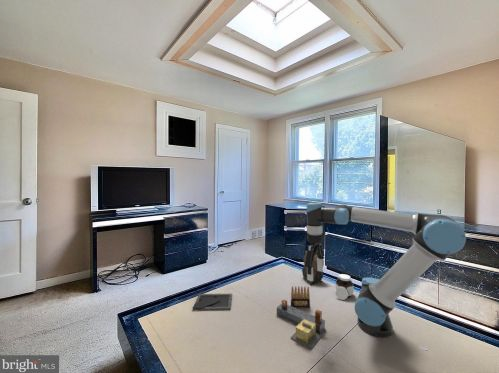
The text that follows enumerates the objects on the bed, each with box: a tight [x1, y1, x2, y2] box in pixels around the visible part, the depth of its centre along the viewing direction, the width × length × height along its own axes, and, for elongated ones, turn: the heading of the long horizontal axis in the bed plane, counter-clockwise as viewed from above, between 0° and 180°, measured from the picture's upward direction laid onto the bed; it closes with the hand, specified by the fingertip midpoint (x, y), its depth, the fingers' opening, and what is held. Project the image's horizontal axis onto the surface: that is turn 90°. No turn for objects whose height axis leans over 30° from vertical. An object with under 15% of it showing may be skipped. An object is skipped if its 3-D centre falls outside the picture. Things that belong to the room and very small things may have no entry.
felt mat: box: [290, 331, 322, 350], centre depth 103 cm, size 10×10×1 cm
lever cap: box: [295, 319, 317, 344], centre depth 103 cm, size 6×8×6 cm
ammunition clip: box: [290, 285, 311, 309], centre depth 128 cm, size 11×2×12 cm, turn 89°
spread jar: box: [335, 273, 355, 301], centre depth 140 cm, size 12×11×12 cm
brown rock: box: [301, 250, 325, 286], centre depth 162 cm, size 13×13×20 cm
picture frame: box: [192, 293, 233, 311], centre depth 133 cm, size 16×2×21 cm
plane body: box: [276, 299, 326, 335], centre depth 115 cm, size 24×6×9 cm, turn 49°
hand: (315, 275), depth 114 cm, fingers open, 13 cm apart
